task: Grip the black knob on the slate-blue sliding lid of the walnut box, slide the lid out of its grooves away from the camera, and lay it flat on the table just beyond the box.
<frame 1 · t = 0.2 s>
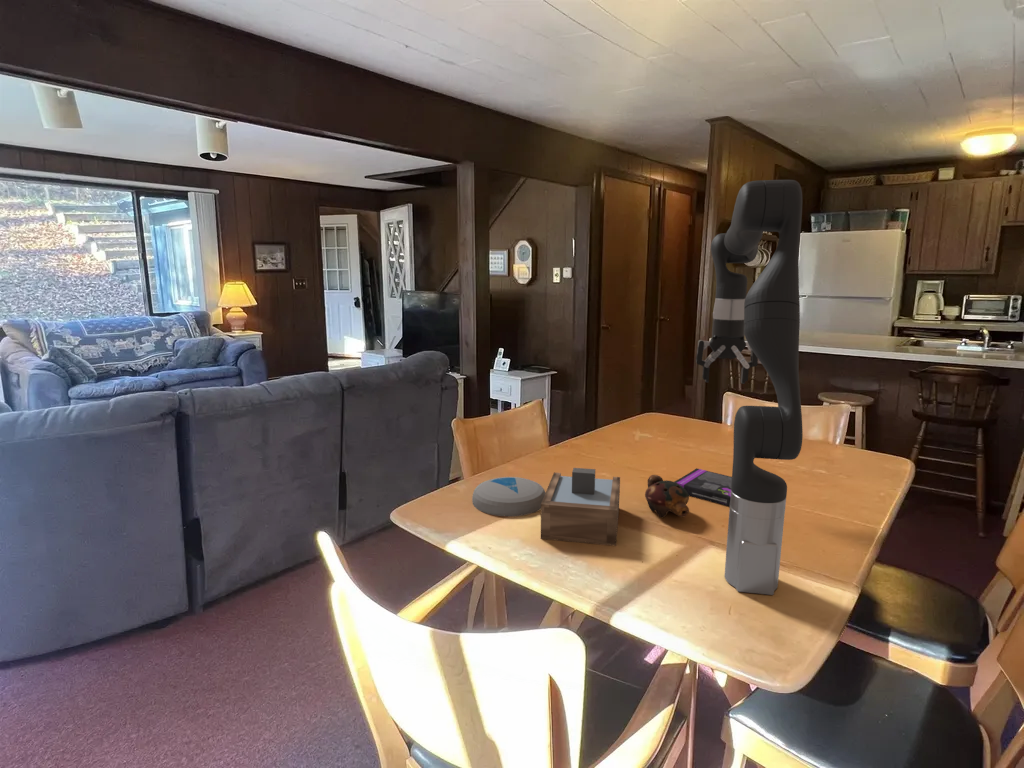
hand: (724, 382, 146), 29 cm above the table, tool pointing down, fingers open, 8 cm apart
grey thick disc: (509, 502, 146), on the table
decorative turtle: (666, 514, 138), on the table
box: (718, 495, 151), on the table
lid: (583, 495, 134), point 6 cm above the table, touching walnut box
walnut box: (582, 522, 134), on the table
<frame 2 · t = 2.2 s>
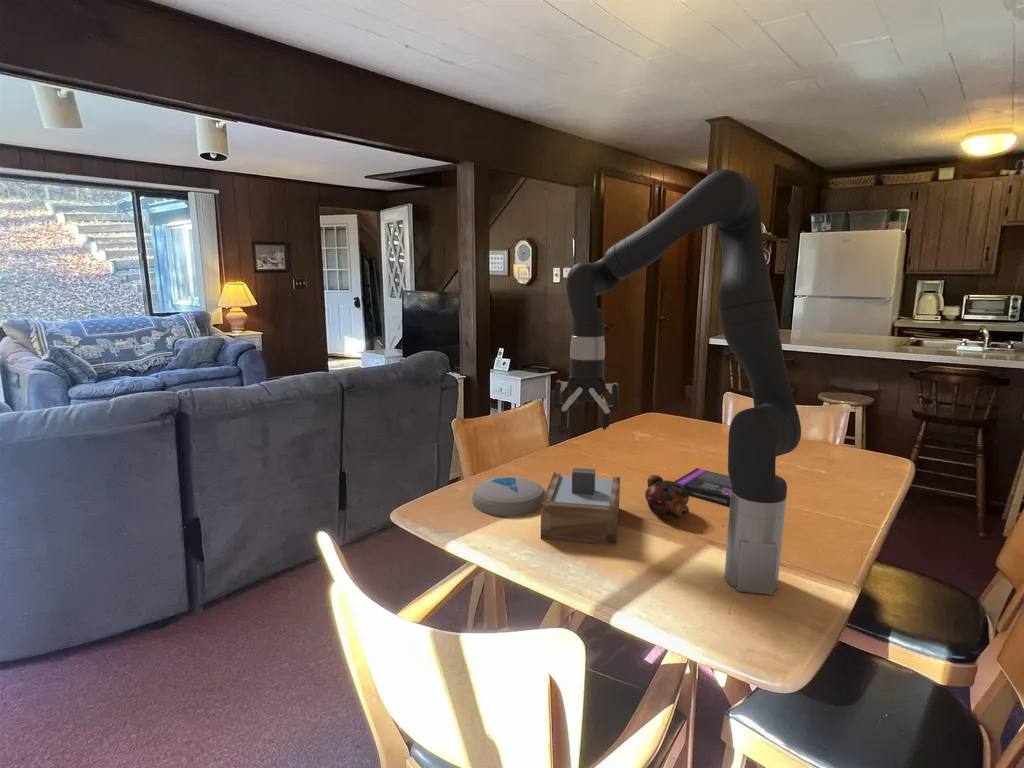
hand: (585, 427, 131), 22 cm above the table, tool pointing down, fingers open, 8 cm apart
nothing on the table moved.
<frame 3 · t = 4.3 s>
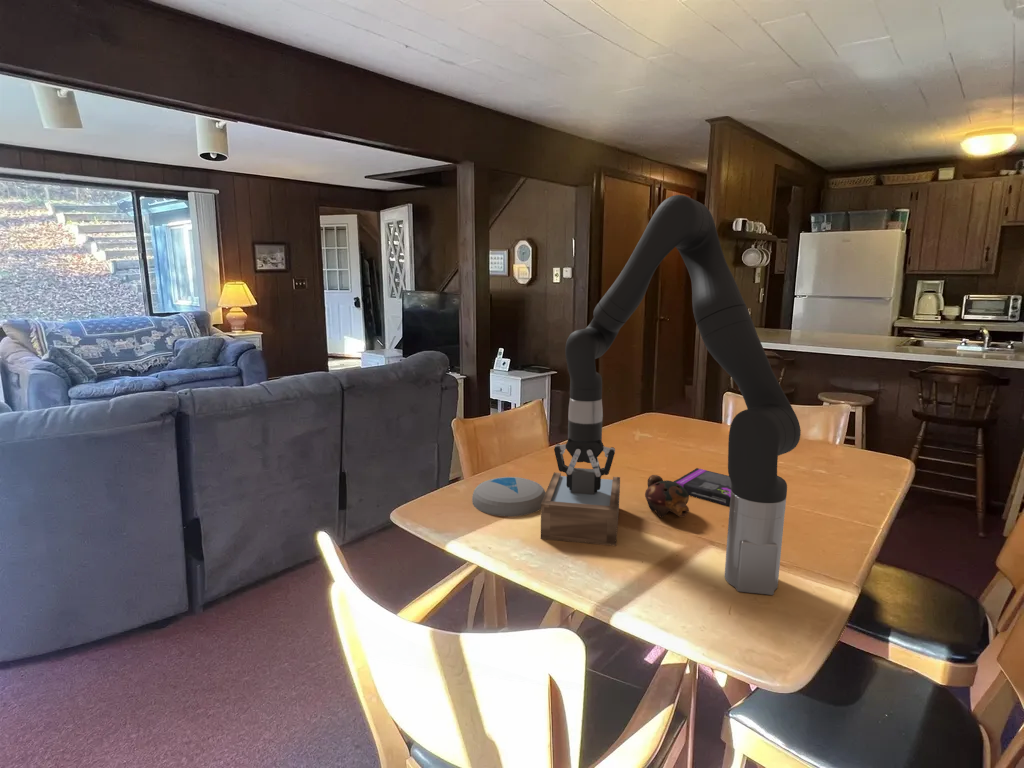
hand: (583, 489, 133), 7 cm above the table, tool pointing down, fingers closed on lid, 5 cm apart
lid: (583, 495, 134), point 6 cm above the table, touching gripper, walnut box
everything else where it was.
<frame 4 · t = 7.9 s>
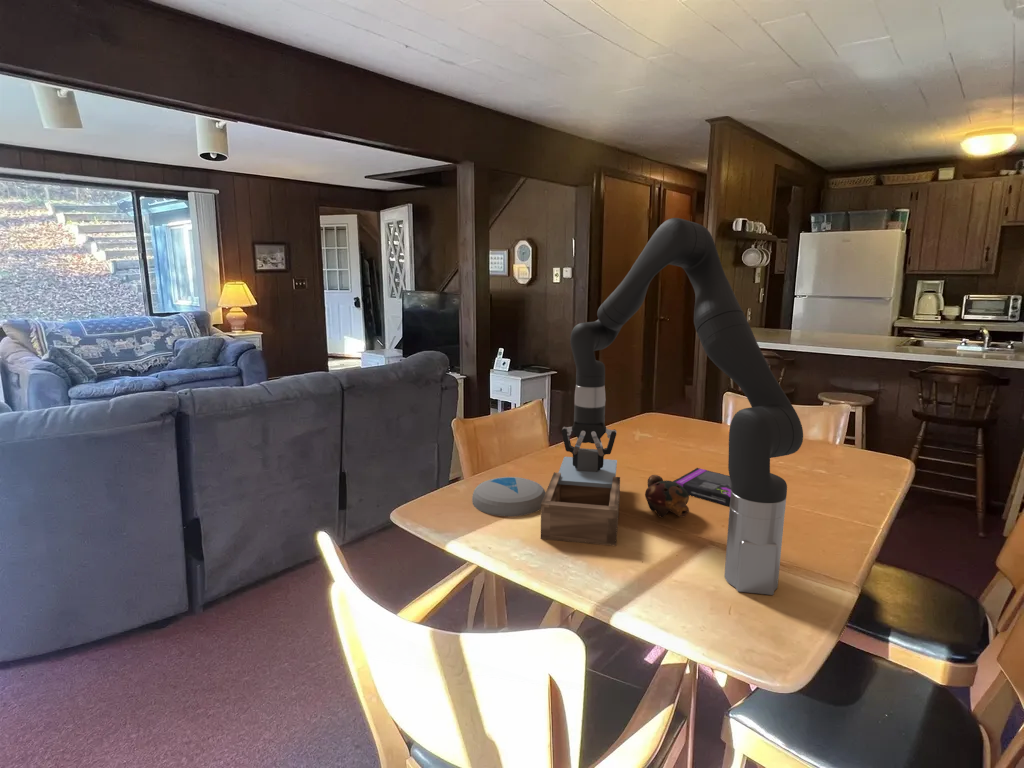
hand: (588, 468, 148), 8 cm above the table, tool pointing down, fingers closed on lid, 5 cm apart
lid: (587, 473, 148), point 6 cm above the table, touching gripper
everything else where it was.
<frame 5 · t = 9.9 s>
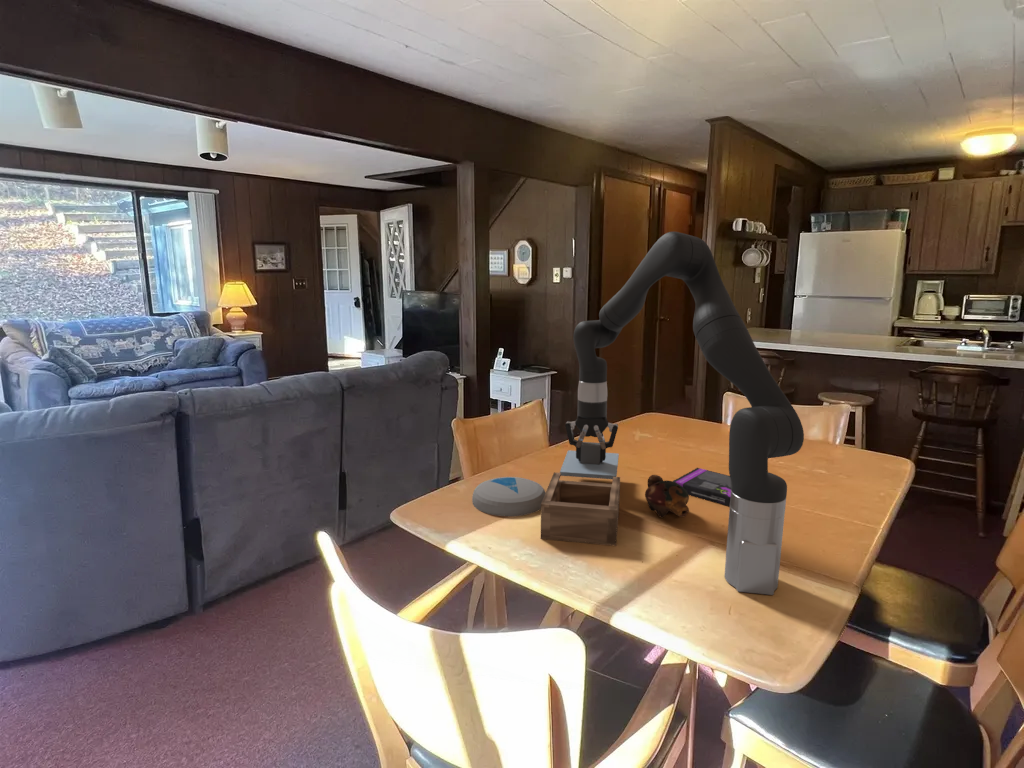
hand: (590, 460, 154), 7 cm above the table, tool pointing down, fingers closed on lid, 5 cm apart
lid: (590, 465, 154), point 6 cm above the table, touching gripper
everything else where it was.
when the fingers open (3 cm above the table, at t = 11.6 s): lid drops 2 cm, on the table.
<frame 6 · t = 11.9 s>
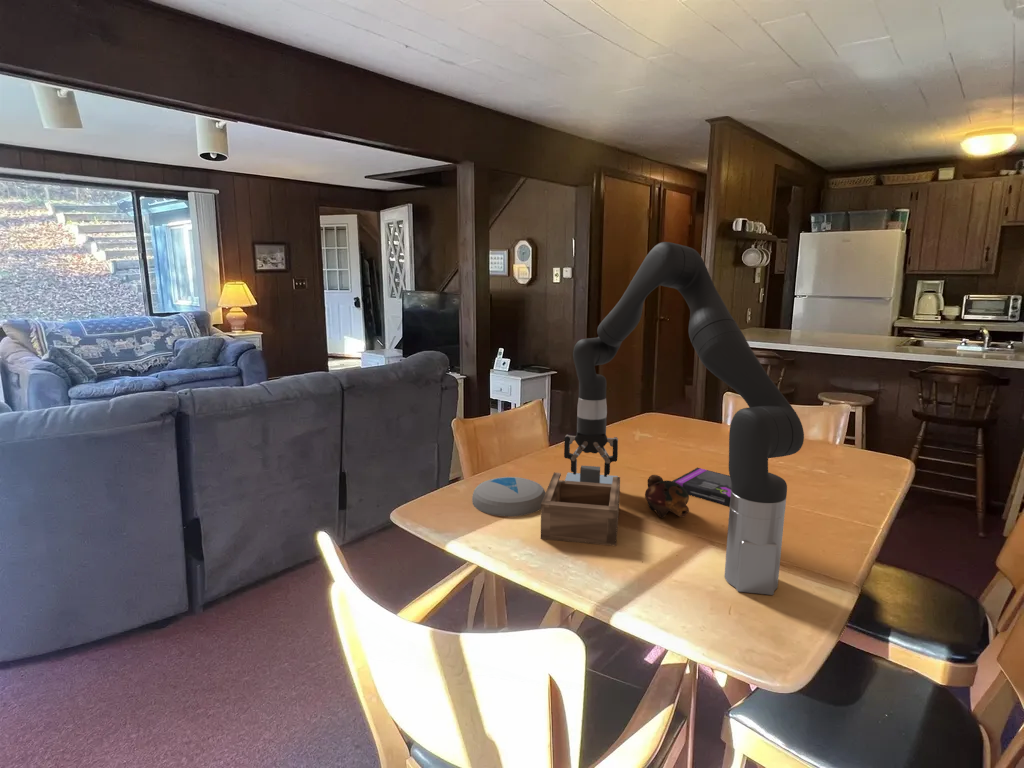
hand: (590, 474, 154), 3 cm above the table, tool pointing down, fingers open, 7 cm apart
lid: (589, 489, 155), on the table
everything else where it was.
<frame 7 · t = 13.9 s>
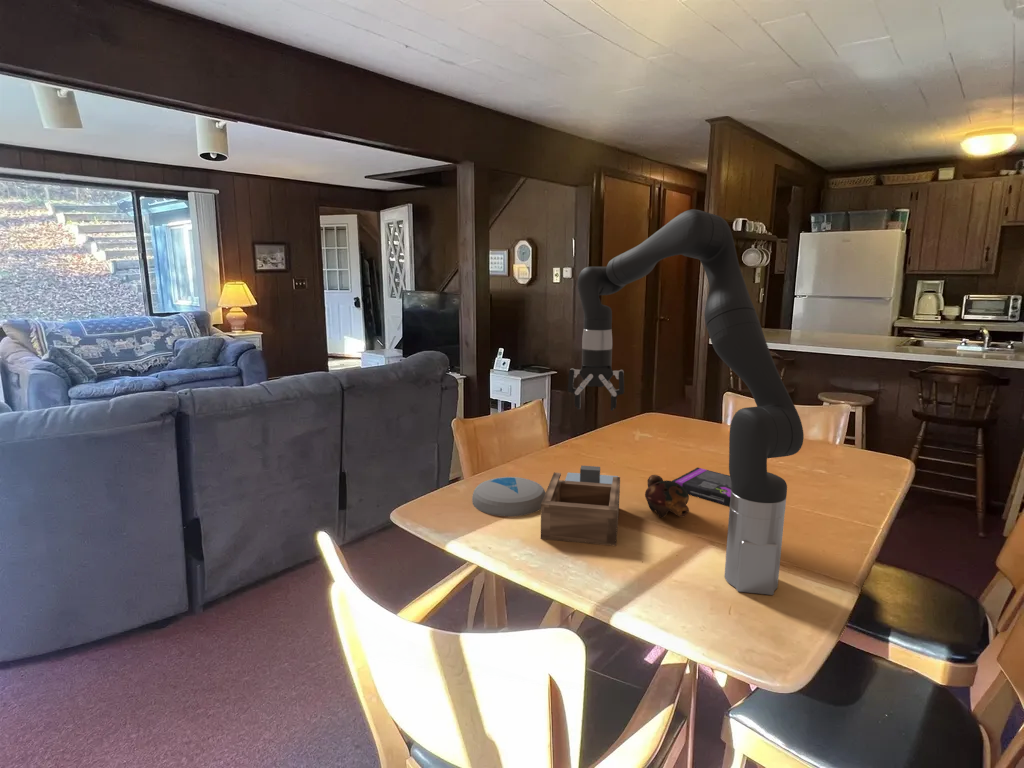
hand: (595, 409, 151), 21 cm above the table, tool pointing down, fingers open, 8 cm apart
nothing on the table moved.
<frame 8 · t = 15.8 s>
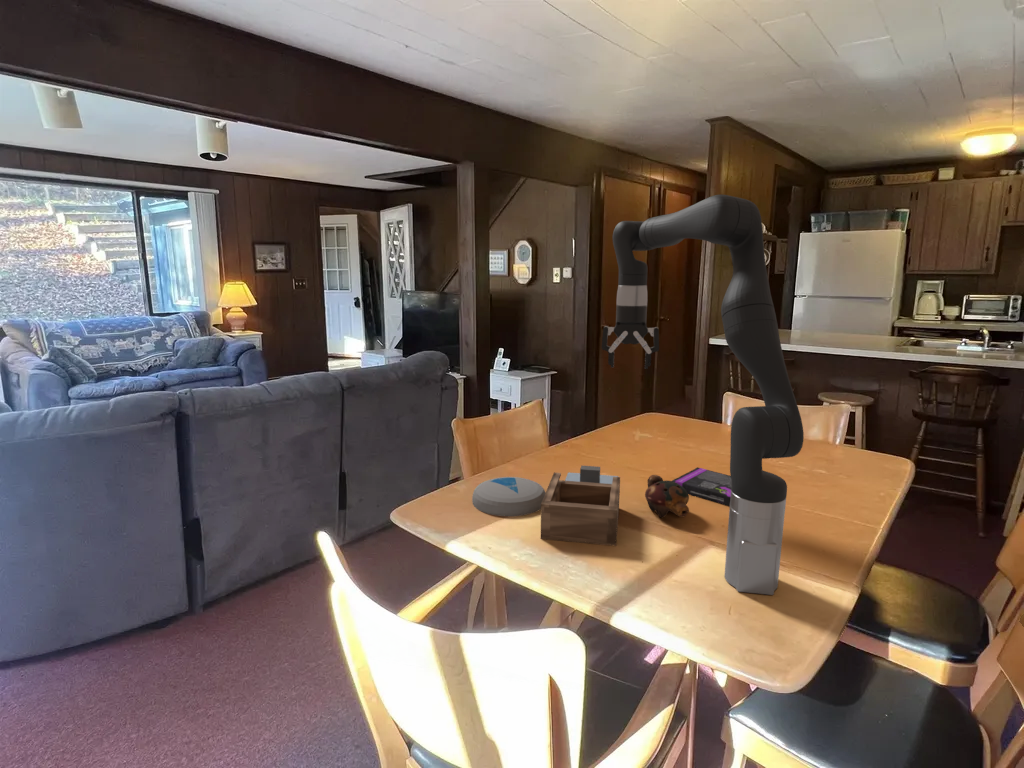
hand: (629, 367, 149), 32 cm above the table, tool pointing down, fingers open, 8 cm apart
nothing on the table moved.
at the end: lid inside the target area (0.1 cm from its centre), on the table; lid tilted 0°; lid touching table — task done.
